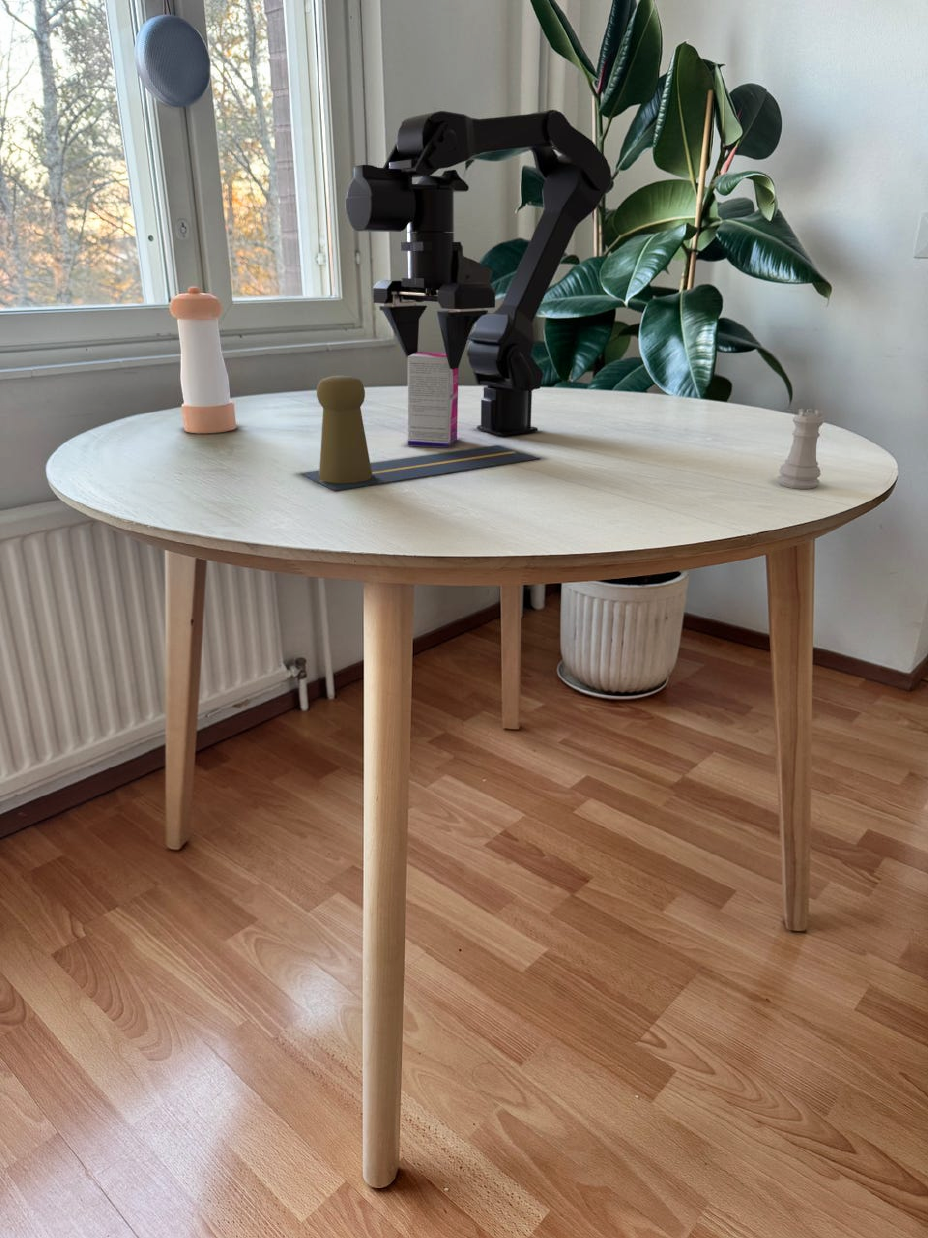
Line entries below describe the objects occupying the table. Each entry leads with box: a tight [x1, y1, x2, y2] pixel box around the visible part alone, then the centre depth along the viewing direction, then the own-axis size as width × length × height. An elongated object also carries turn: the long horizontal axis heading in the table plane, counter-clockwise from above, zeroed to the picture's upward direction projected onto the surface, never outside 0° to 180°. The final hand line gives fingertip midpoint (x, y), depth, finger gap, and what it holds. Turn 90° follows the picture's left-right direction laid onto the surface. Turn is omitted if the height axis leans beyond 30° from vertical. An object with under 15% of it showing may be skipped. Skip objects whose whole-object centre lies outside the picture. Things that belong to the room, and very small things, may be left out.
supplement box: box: [406, 351, 460, 448], centre depth 110 cm, size 6×6×12 cm
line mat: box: [300, 444, 541, 492], centre depth 99 cm, size 28×9×1 cm, turn 124°
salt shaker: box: [169, 286, 237, 434], centre depth 117 cm, size 7×7×19 cm
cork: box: [316, 374, 372, 483], centre depth 92 cm, size 6×6×11 cm
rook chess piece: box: [776, 408, 826, 490], centre depth 90 cm, size 4×4×8 cm
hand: (432, 365), depth 108 cm, fingers open, 9 cm apart
